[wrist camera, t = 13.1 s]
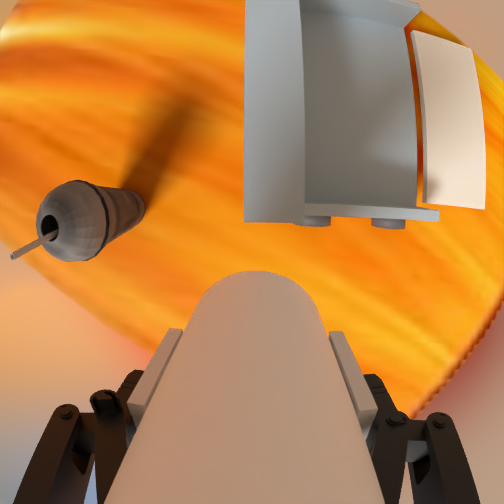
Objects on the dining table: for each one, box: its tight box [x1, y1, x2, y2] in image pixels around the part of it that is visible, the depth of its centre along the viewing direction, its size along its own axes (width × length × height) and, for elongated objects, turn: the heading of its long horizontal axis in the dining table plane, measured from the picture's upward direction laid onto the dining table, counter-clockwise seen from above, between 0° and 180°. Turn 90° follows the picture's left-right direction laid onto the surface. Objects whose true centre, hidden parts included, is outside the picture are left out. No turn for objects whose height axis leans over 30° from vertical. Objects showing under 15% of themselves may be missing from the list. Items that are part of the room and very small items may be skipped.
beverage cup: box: [10, 180, 145, 262], centre depth 24 cm, size 7×7×20 cm
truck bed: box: [244, 0, 440, 229], centre depth 24 cm, size 27×18×14 cm, turn 0°
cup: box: [104, 271, 385, 504], centre depth 11 cm, size 8×8×16 cm
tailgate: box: [410, 30, 486, 210], centre depth 26 cm, size 21×1×9 cm
